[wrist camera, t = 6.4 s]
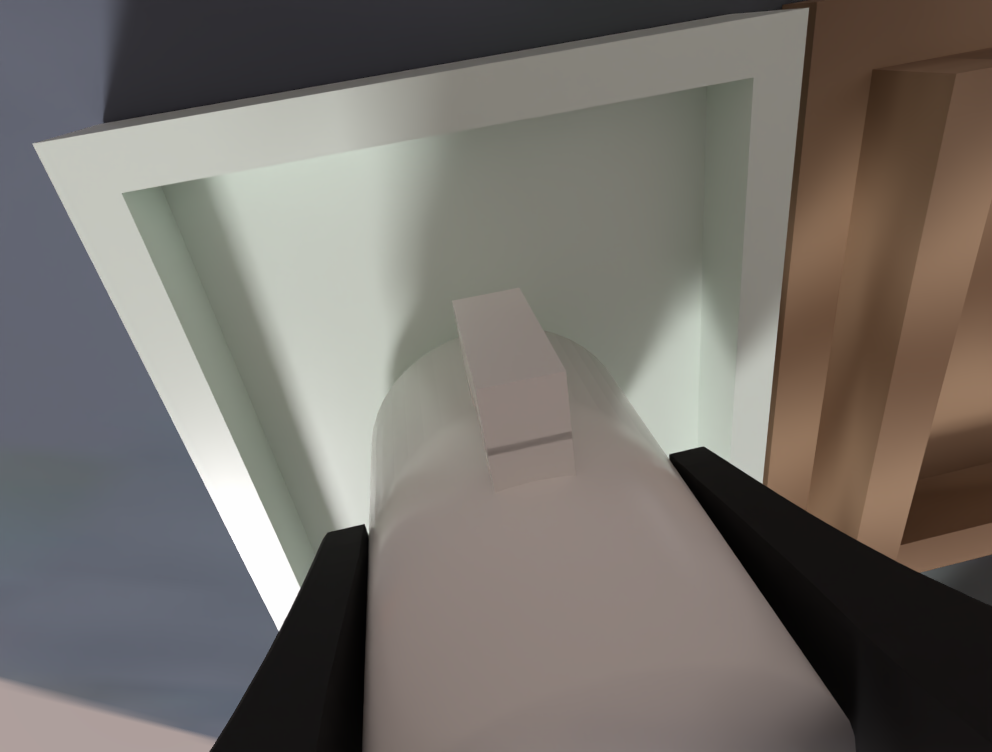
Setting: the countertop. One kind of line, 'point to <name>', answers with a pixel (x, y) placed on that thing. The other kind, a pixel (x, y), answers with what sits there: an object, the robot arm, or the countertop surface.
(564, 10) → the countertop surface
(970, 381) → the tray
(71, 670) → the countertop surface
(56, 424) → the countertop surface
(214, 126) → the tray
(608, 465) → the white rounded piece
